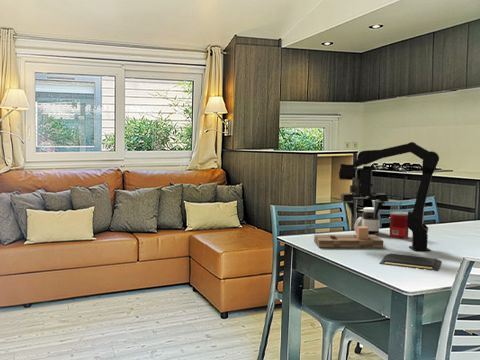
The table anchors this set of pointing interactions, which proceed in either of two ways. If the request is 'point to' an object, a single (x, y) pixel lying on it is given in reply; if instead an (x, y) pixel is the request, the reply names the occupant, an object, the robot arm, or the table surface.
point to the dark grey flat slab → (411, 261)
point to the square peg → (362, 232)
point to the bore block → (347, 241)
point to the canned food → (398, 224)
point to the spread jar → (368, 220)
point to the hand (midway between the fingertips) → (363, 217)
